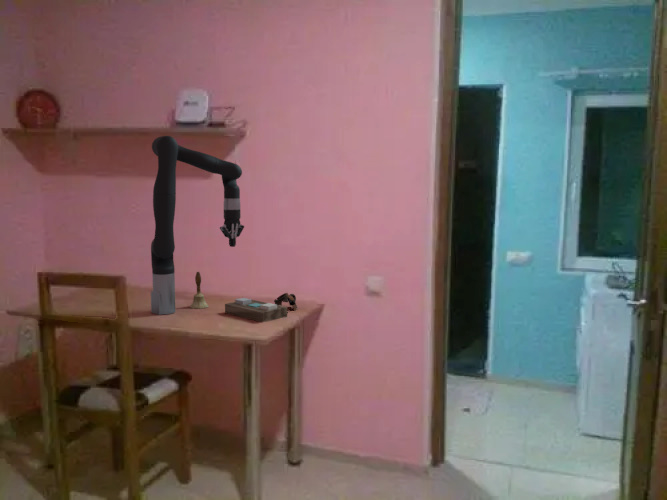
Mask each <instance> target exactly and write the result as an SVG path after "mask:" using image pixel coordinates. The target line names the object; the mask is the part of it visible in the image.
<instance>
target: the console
mask: <svg viewBox="0 0 667 500" xmlns="http://www.w3.org/2000/svg"><path fill="white" fill-rule="evenodd" d="M254 303H258V304H267V303H268V302H265V301H260V300H256V299H252V303H249V304H254ZM249 304H245V305H241V304H237V303H235V301H233V302H228V303H225V304H224V314H228V315H232V316H235V317H240V318H243V319H248V320H252V321H256V322H260V323H267V322H270V321H274V320H277V319H281V318H286V317H288V307H287V306H285V305H284V306H283V305H282V306H281V305H277V309H274V310H269V311H268V310H263V309H260V307H256V308H254V307H250V306H248V305H249Z"/></svg>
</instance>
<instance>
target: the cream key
mask: <svg viewBox="0 0 667 500" xmlns="http://www.w3.org/2000/svg"><path fill="white" fill-rule="evenodd" d="M266 303H267V304H262V305H260V309H263V310H268V311H269V310H274V309H277V305H276V304H275V303H271V302H266Z"/></svg>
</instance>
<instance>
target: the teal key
mask: <svg viewBox="0 0 667 500" xmlns="http://www.w3.org/2000/svg"><path fill="white" fill-rule="evenodd" d="M260 305H262V304H258V303H254V304H249V305H248V306H250V307H254V308H256V307H260Z"/></svg>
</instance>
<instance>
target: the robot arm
mask: <svg viewBox="0 0 667 500" xmlns="http://www.w3.org/2000/svg"><path fill="white" fill-rule="evenodd" d="M151 149H152V152H153V153H154V155H155V156H157V163H158V164H157V165H158V166H157V174H156V177H155V181H154V183H153V184H154V185H153V190H152V191H153V192H152V193H153V195H152V208H153V217H154V223H155V229H154V238H153V239H152V241H151V245H150V253H151V254H150V257H151V270H152V290H151V291H150V305H151V306H150V308H151V309H150V311H151V313H152V314H155V315H159V316H160V315H172V314H174V313H176V283H175V282H176V278H175V277H176V275H175V274H176V272H175V270H176V269H175V262H174V261H175V260H174V253H175V248H176V246H175V236H174V222H175V214H176V212H175V211H176V202H177V201H176V198H177V195H176V194H177V193H176V192H177V190H176V189H177V188H176V187H177V186H176V185H177V170H176V169H177V163H178V162H181V163H184V164H188V165H190V166H193V167H195V168H197V169H200V170H201V171H202V170H203V171H206V172H208V173H211V174H215V175H216V174H217V175H221V180H222V186H223V219H224V222H223V225H222V226H220V227H219V230H220V232H222V234H223V236H224V237H225V238H228V246H229V247H231V248H233V247H236V245H237V238H239V237H240V236H241V234H242V232H243V230H244V228H245V225H243V224H241V221H240V219H241V217H242V216H241V194H240V193H241V192H240V191H241V189H240V186H239V185H238V184H237V183H238V182H237V180H238V179H239V178H241V177H242V174H243V170H242V167H240V165H239V164H236V163H234V162H231V161H227V160H223V159H221V158H218V157H216V156H213V155H210V154H207V153H204V152H201V151H198V150H197V151H196V150H193V149H191V148H187V147H184V146H181V145H180V144H178V142H177V140H176V139H175V137H173V136H170V135H162V136H158V137H156V138H155V139H154V140H153V141H152V144H151Z"/></svg>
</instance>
